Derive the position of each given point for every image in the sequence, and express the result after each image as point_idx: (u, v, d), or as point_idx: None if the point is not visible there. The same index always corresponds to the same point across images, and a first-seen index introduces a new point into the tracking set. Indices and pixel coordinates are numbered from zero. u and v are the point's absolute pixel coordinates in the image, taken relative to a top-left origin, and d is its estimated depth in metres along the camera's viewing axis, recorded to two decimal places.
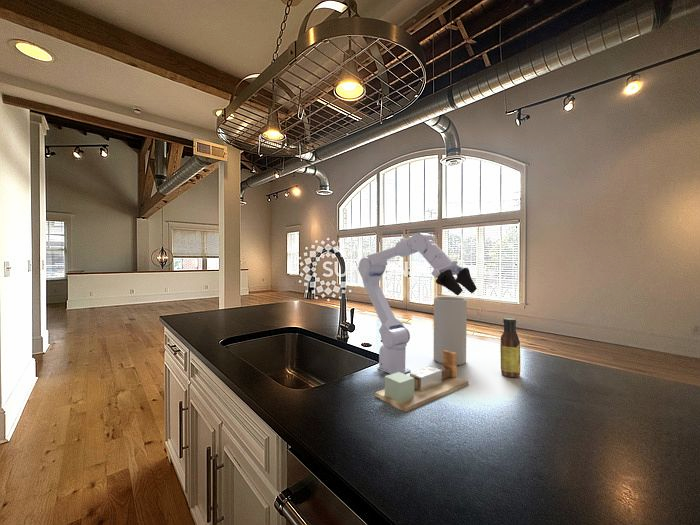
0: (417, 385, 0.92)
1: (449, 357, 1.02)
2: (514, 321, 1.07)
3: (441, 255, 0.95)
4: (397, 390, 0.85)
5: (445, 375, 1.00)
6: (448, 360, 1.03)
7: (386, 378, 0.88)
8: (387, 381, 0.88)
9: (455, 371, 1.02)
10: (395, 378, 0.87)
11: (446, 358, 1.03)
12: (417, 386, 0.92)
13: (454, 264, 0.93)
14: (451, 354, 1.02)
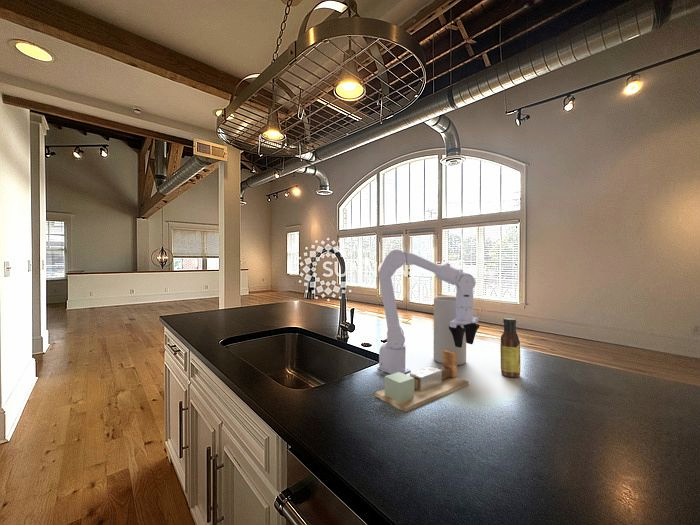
0: (417, 385, 0.92)
1: (449, 357, 1.02)
2: (514, 321, 1.07)
3: (468, 309, 1.06)
4: (397, 390, 0.85)
5: (445, 375, 1.00)
6: (448, 360, 1.03)
7: (386, 378, 0.88)
8: (387, 381, 0.88)
9: (455, 371, 1.02)
10: (395, 378, 0.87)
11: (446, 358, 1.03)
12: (417, 386, 0.92)
13: (472, 322, 1.06)
14: (451, 354, 1.02)
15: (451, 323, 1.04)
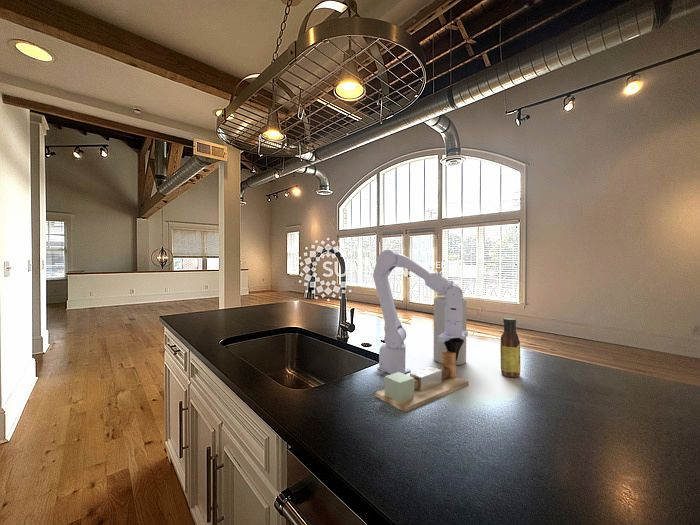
0: (416, 386, 0.91)
1: (448, 357, 1.02)
2: (514, 321, 1.07)
3: (457, 323, 1.02)
4: (397, 390, 0.85)
5: (444, 375, 1.00)
6: (447, 360, 1.02)
7: (386, 378, 0.88)
8: (387, 381, 0.88)
9: (454, 371, 1.02)
10: (395, 378, 0.87)
11: (445, 358, 1.03)
12: (416, 387, 0.91)
13: None
14: (450, 354, 1.01)
15: (439, 338, 1.00)
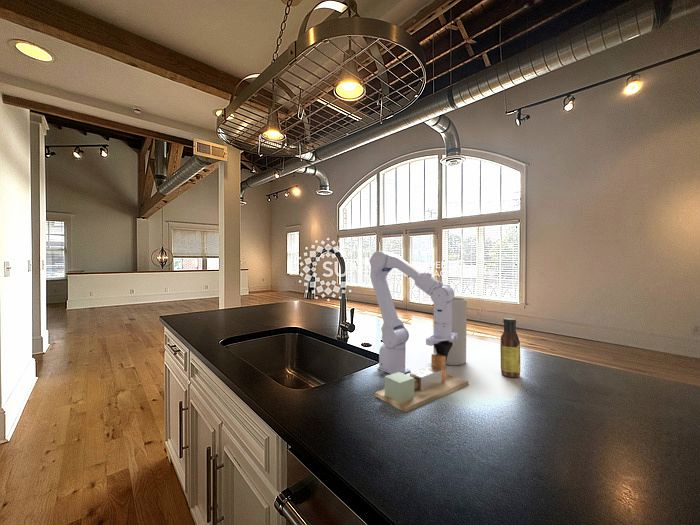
0: None
1: (437, 360, 0.99)
2: (514, 321, 1.07)
3: (446, 325, 0.98)
4: (397, 390, 0.85)
5: None
6: (436, 363, 0.99)
7: (386, 378, 0.88)
8: (387, 381, 0.88)
9: (444, 375, 0.98)
10: (395, 378, 0.87)
11: (434, 361, 0.99)
12: None
13: (450, 340, 0.98)
14: (440, 358, 0.98)
15: (427, 341, 0.97)
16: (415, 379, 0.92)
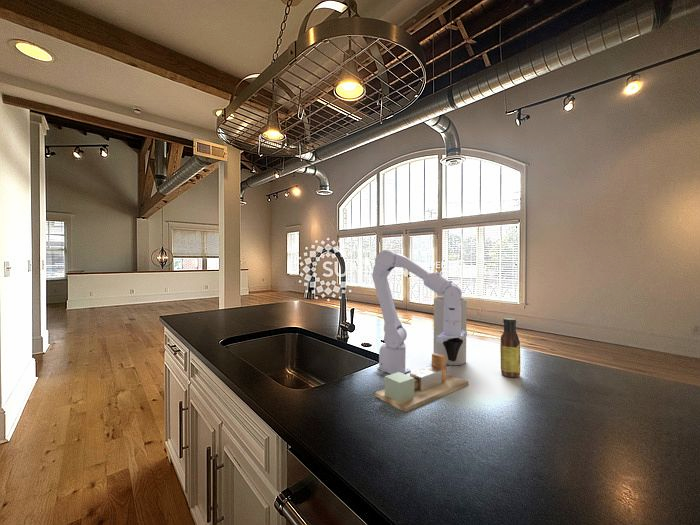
0: None
1: (438, 360, 0.99)
2: (514, 321, 1.07)
3: (456, 323, 1.01)
4: (397, 390, 0.85)
5: None
6: (437, 363, 0.99)
7: (386, 378, 0.88)
8: (387, 381, 0.88)
9: (444, 375, 0.98)
10: (395, 378, 0.87)
11: (435, 361, 1.00)
12: None
13: None
14: (440, 357, 0.98)
15: (438, 338, 1.00)
16: (415, 379, 0.92)
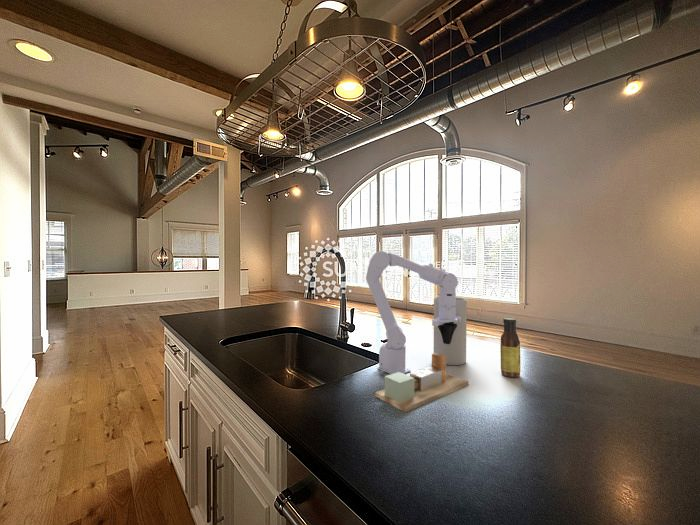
0: None
1: (438, 360, 0.99)
2: (514, 321, 1.07)
3: (451, 308, 1.08)
4: (397, 390, 0.85)
5: None
6: (437, 363, 0.99)
7: (386, 378, 0.88)
8: (387, 381, 0.88)
9: (444, 375, 0.98)
10: (395, 378, 0.87)
11: (435, 361, 1.00)
12: None
13: (454, 321, 1.08)
14: (440, 357, 0.98)
15: (433, 322, 1.06)
16: (415, 379, 0.92)
